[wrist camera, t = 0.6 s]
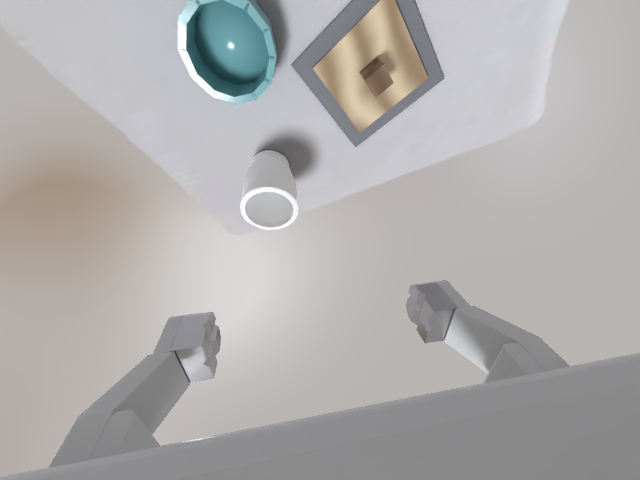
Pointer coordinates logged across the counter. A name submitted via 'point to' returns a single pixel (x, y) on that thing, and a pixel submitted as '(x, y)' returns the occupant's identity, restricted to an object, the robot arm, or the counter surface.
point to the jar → (269, 192)
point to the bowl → (228, 48)
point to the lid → (372, 65)
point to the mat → (335, 32)
